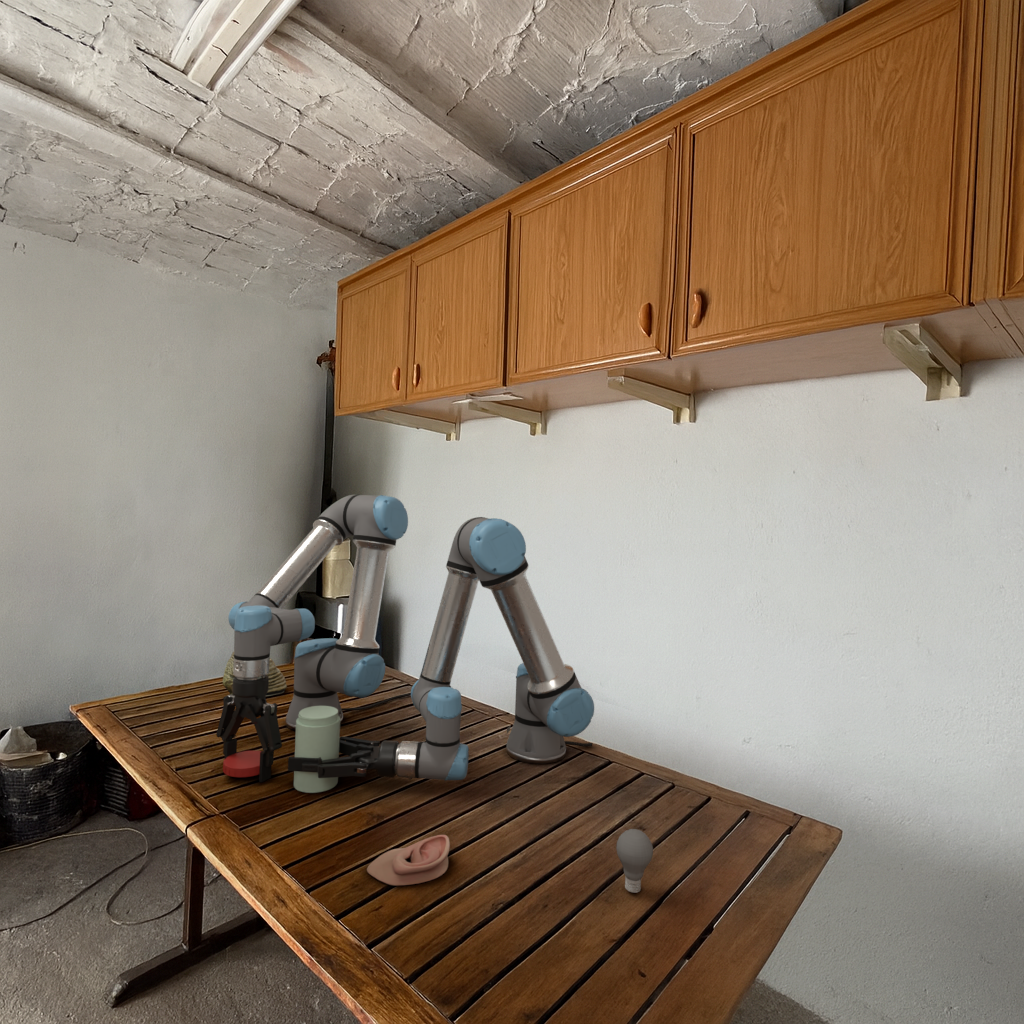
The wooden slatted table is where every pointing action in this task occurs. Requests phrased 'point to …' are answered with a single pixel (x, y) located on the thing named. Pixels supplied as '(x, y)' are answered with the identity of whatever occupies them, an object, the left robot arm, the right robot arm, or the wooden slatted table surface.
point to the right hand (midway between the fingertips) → (296, 754)
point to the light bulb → (634, 857)
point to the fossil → (275, 676)
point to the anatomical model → (412, 862)
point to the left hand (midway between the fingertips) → (247, 774)
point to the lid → (242, 764)
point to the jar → (316, 745)
